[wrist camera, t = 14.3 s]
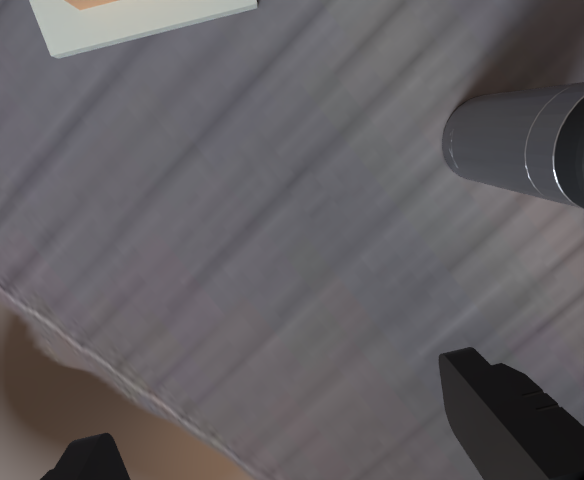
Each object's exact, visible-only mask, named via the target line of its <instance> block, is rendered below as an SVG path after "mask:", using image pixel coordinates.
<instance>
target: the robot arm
mask: <svg viewBox="0 0 584 480" xmlns="http://www.w3.org/2000/svg"><path fill="white" fill-rule="evenodd" d="M442 149H443V154H444V158H445V160H446V162H447V164H448V165H449V167H450V168H451V169H452V170H453V171H454V172H455V173H456V174H458V175H459V176H461V177H463V178H466V179H469V180H473V181H477V182H481V183H484V184H488V185H492V186H496V187H500V188H504V189H508V190H511V191H515V192H519V193H523V194H527V195H531V196H535V197H539V198H543V199H547V200H551V201H554V202H558V203H563V204H567V205H571V206H575V207H579V208H582V209H584V82H582V83H574V84H567V85H559V86H551V87H544V88H536V89H528V90H521V91H513V92H504V93H497V94H489V95H482V96H478V97H474V98H472V99H470V100H468V101H466V102H465V103H463V104H462V105H461V106H459V107H458V108H457V109H456V111H455V112H454V113H453V114H452V115H451V117H450V119H449V120H448V122H447V124H446V127H445V130H444V133H443V139H442ZM439 369H440V376H441V384H442V391H443V399H444V406H445V411H446V415H447V418H448V421H449V424H450V426H451V429H452V431H453V433H454V434H455V436H456V438H457V439H458V441H459V442H460V444H461V445H462V447H463V449H464V450H465V452H466V453H467V455H468V456H469V458H470V459H471V461H472V462H473V464H474V465H475V467H476V468H477V470H478V472H479V473H480V475H481V476H482V478H483V479H484V480H584V426H582V425H581V424H580V423H579V422H578V421H577V420H576V419H575V418H574V417H572V416H571V415H570V414H569V413H568V412H567V411H566V410H565V409H563V408H562V407H559V406H558V403H557V402H556V401H555V400H553V399H552V398H551V397H550V396H549V395H548V394H547V393H544V392H543V390H542V389H541V388H540V387H539V386H538V385H537V384H536V383H534V382H533V381H532V380H531V379H530V378H529V377H528V376H527V375H525V374H524V373H522V372H520V371H517V370H515V369H513V368H511V367H509V366H507V365H505V364H503V363H500V364H495V365H490V364H489V363H488V362H487V361H486V360H485V359H484V358H483V357H482V356H481V355H480V354H479V353H478V352H477V351H476V350H475V349H474V348H472V347H468V348H464V349H460V350H456V351H451V352H447V353H443V354H440V355H439ZM40 480H130V478H129V475H128V473H127V470H126V468H125V466H124V463H123V460H122V458H121V456H120V453H119V451H118V449H117V446H116V444H115V441H114V439H113V437H112V436H111V435H110V434H109V433H103V434H99V435H95V436H90V437H86V438H82V439H78V440H74V441H72V442H71V443H70V444H69V445H68V447H67V448H66V450H65V452H64V453H63V455H62V456H61V458H60V460H59V461H58V463H57V464H56V466H55V468H54V469H52V470H49V471H48V472H47V473H46V474H45V475H44V476H43V477H42V478H41V479H40Z"/></svg>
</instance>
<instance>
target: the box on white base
mask: <svg viewBox="0 0 584 480" xmlns="http://www.w3.org/2000/svg"><path fill="white" fill-rule="evenodd" d="M29 1H30V4H31V6H32V9H33V11H34V14H35V16H36V19H37V21H38V24H39V27H40V29H41V32H42V34H43V37H44V39H45V42H46V44H47V47H48V49H49V52H50V55H51V56H53V57H56V58H63V57H67V56H71V55H75V54H79V53H82V52H86V51H90V50H94V49H98V48H102V47H106V46H110V45H114V44H118V43H122V42H126V41H130V40H134V39H138V38H142V37H146V36H150V35H153V34H157V33H161V32H165V31H169V30H173V29H177V28H181V27H185V26H189V25H193V24H197V23H201V22H205V21H209V20H213V19H217V18H221V17H225V16H228V15H232V14H236V13H240V12H244V11H248V10H252V9H256V8H257V0H29Z"/></svg>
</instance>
